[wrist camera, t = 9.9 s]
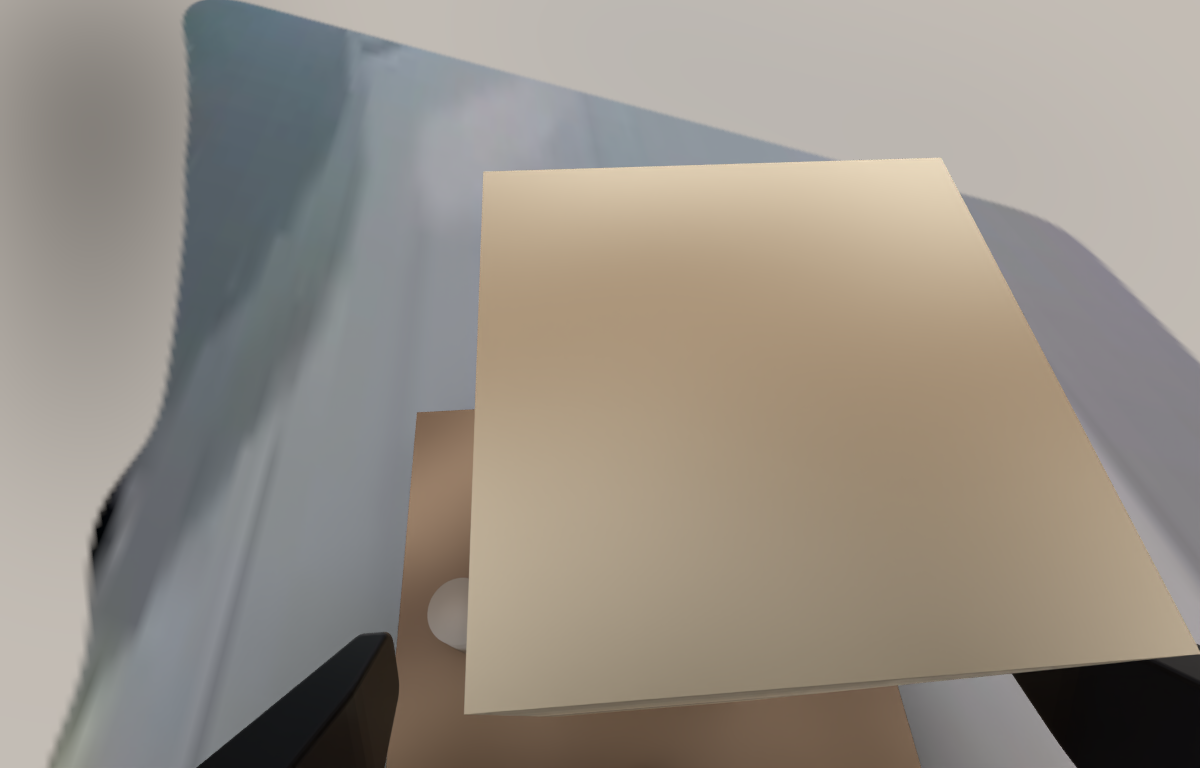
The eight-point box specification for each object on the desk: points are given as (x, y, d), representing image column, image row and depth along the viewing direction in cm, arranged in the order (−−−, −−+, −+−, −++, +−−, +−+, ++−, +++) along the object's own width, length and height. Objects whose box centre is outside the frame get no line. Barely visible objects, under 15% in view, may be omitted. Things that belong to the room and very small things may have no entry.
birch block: (737, 701, 16) (1201, 652, 4) (555, 716, 16) (465, 715, 4) (707, 523, 19) (941, 157, 6) (550, 533, 18) (483, 171, 6)
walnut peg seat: (926, 879, 16) (1024, 927, 12) (388, 937, 15) (328, 1004, 11) (799, 409, 22) (838, 352, 19) (427, 430, 22) (397, 376, 18)
